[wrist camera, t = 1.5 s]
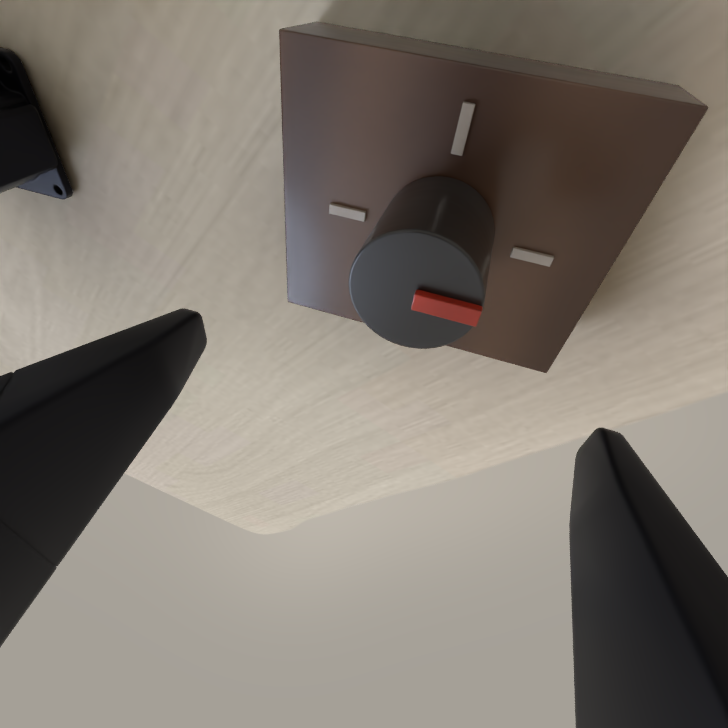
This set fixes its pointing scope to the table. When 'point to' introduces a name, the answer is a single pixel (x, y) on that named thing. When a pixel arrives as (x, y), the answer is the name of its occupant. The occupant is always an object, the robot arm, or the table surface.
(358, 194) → the dial panel
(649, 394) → the table surface
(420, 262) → the supply dial
